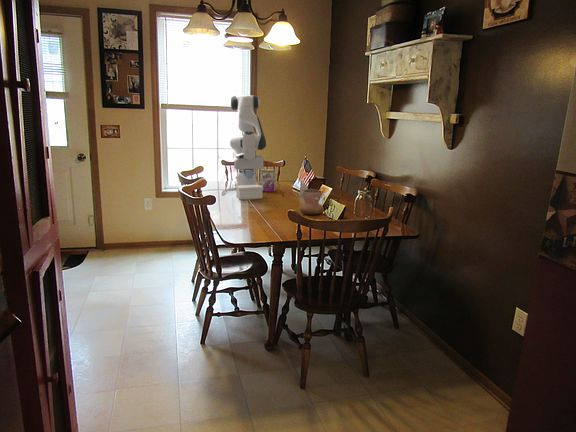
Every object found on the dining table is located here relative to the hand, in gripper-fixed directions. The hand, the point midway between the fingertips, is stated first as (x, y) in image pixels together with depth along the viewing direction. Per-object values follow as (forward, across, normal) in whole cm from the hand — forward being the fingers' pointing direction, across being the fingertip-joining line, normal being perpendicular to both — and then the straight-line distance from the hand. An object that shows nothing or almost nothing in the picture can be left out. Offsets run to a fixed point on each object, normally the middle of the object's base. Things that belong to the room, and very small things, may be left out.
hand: (249, 175), depth 305 cm
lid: (+10, 0, 0) cm, 10 cm away
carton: (+16, 0, 0) cm, 16 cm away
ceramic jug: (+16, -27, +52) cm, 61 cm away
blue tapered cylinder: (+2, 0, 0) cm, 2 cm away
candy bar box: (+16, -18, -20) cm, 31 cm away
